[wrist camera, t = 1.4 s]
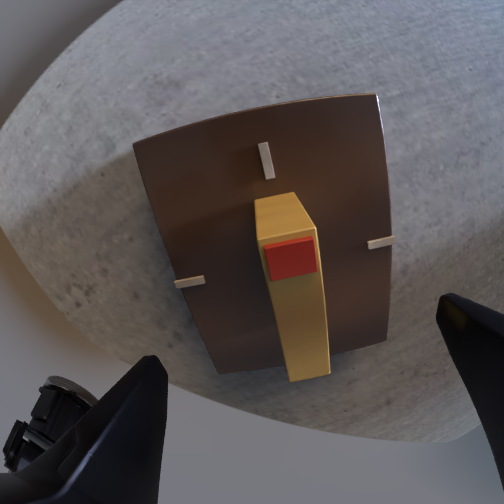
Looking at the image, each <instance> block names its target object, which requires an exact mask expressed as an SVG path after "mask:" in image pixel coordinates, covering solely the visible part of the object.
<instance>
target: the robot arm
mask: <svg viewBox="0 0 504 504" xmlns="http://www.w3.org/2000/svg"><path fill="white" fill-rule="evenodd" d="M436 321H437V324H438V326H439V329H440V331H441V333H442V336H443V338H444V340H445V343H446V345H447V348H448V350H449V353H450V355H451V357H452V360H453V362H454V364H455V366H456V368H457V370H458V372H459V374H460V376H461V378H462V380H463V382H464V384H465V386H466V388H467V391H468V393H469V395H470V397H471V399H472V402H473V404H474V406H475V408H476V411H477V413H478V415H479V418H480V420H481V423H482V425H483V428H484V430H485V433H486V436H487V438H488V441H489V444H490V446H491V449H492V452H493V455H494V459H495V462H496V465H497V469H498V472H499V475H500V479H501V482H502V486H503V490H504V314H501V313H499V312H497V311H494V310H492V309H490V308H487V307H485V306H483V305H480V304H478V303H476V302H473V301H471V300H468V299H466V298H464V297H461V296H459V295H456V294H454V293H447V294H444V295H442V296H441V297H440V298H439V303H438V308H437V313H436ZM39 391H40V393H41V395H40V397H39V399H38V401H37V403H36V404H35V406H34V408H33V410H32V412H31V416H32V419H31V421H30V424H29V425H28V423H26V422H25V421H24V422H21V421H18V420H16V422H15V424H14V426H13V428H12V430H11V432H10V435H9V437H8V439H7V441H6V444H5V446H4V448H3V453H4V456H5V459H4V460H5V464H4V466H5V467H7V468H8V469H9V471H8V473H0V504H157V503H158V491H159V481H160V471H161V461H162V453H163V445H164V436H165V429H166V421H167V398H168V374H167V372H166V370H165V368H164V367H163V365H162V363H161V362H160V360H159V358H158V357H157V356H155V355H150V356H144V357H142V358H141V359H140V360H139V361H138V362H137V363H136V364H135V365H134V366H133V367H132V368H131V369H130V370H129V371H128V372H127V373H126V374H125V375H124V376H123V377H122V378H121V379H120V380H119V381H118V382H117V383H116V384H115V385H114V386H113V387H112V388H111V389H110V390H109V391H108V392H107V393H106V394H105V395H104V396H103V397H102V398H101V399H100V400H99V401H98V402H97V403H96V404H95V405H94V406H93V407H92V408H91V409H89V407H88V406H87V405H86V404H85V403H84V402H83V401H82V400H81V399H80V398H79V397H78V395H77V394H76V393H75V392H73V391H70V390H61V389H53V388H45V387H40V388H39ZM23 436H25V437H26V438H27V439H29V440H28V441H26V440H24V439H23V438H22V437H23Z"/></svg>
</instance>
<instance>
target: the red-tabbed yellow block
mask: <svg viewBox="0 0 504 504" xmlns="http://www.w3.org/2000/svg"><path fill="white" fill-rule="evenodd" d="M254 206H255V223H256V240H257V245H258V249H259V253H260V257H261V262H262V266H263V270H264V274H265V279H266V283H267V287H268V291H269V296H270V300H271V304H272V309H273V313H274V317H275V322H276V326H277V330H278V335H279V339H280V343H281V348H282V352H283V356H284V361H285V365H286V370H287V374H288V378H289V382H295V381H300V380H305V379H310V378H315V377H320V376H324V375H329V374H330V357H329V342H328V329H327V317H326V306H325V295H324V286H323V277H322V268H321V260H320V252H319V244H318V237H317V230H316V227H315V225H314V224H313V222H312V220H311V219H310V217H309V215H308V214H307V212H306V211H305V209H304V207H303V206H302V204H301V203H300V201H299V200H298V198H297V196H296V195H295V193H294V192H290V193H285V194H280V195H276V196H271V197H266V198H261V199H257V200H254Z"/></svg>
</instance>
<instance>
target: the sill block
mask: <svg viewBox="0 0 504 504" xmlns="http://www.w3.org/2000/svg"><path fill="white" fill-rule="evenodd" d="M133 149H134V152H135V156H136V159H137V163H138V166H139V170H140V173H141V176H142V180H143V183H144V186H145V189H146V193H147V196H148V199H149V202H150V205H151V208H152V211H153V214H154V217H155V220H156V223H157V226H158V229H159V232H160V234H161V237H162V240H163V243H164V246H165V248H166V251H167V254H168V257H169V259H170V262H171V264H172V267H173V270H174V272H175V275H176V277H177V280H176V281H175V282H174V283H175V286H176V288H177V289H178V288H181V290H182V293H183V295H184V297H185V300H186V302H187V305H188V307H189V310H190V312H191V314H192V317H193V319H194V321H195V324H196V326H197V328H198V330H199V333H200V335H201V337H202V339H203V342H204V344H205V346H206V348H207V350H208V353H209V355H210V357H211V359H212V361H213V363H214V365H215V368H216V370H217V372H218V374H228V373H236V372H243V371H250V370H257V369H263V368H270V367H276V366H281V365H285V361H284V356H283V352H282V348H281V343H280V339H279V335H278V330H277V326H276V322H275V317H274V313H273V309H272V304H271V300H270V296H269V291H268V287H267V283H266V279H265V274H264V270H263V266H262V262H261V257H260V253H259V249H258V245H257V240H256V223H255V206H254V200H257V199H261V198H266V197H271V196H276V195H280V194H285V193H290V192H294V193H295V195H296V196H297V198H298V200H299V201H300V203H301V204H302V206H303V207H304V209H305V211H306V212H307V214H308V215H309V217H310V219H311V220H312V222H313V224H314V225H315V227H316V230H317V237H318V244H319V252H320V260H321V268H322V277H323V286H324V295H325V306H326V317H327V329H328V342H329V356H330V355H334V354H338V353H342V352H346V351H350V350H354V349H358V348H362V347H365V346H369V345H373V344H376V343H380V342H383V341H386V339H387V330H388V319H389V307H390V292H391V267H392V244H396V237H395V236H392V227H391V202H390V187H389V175H388V165H387V155H386V147H385V140H384V133H383V126H382V120H381V114H380V108H379V103H378V98H377V94H376V93H363V94H349V95H337V96H328V97H319V98H311V99H304V100H297V101H290V102H284V103H278V104H273V105H267V106H262V107H257V108H252V109H247V110H243V111H238V112H234V113H230V114H226V115H222V116H218V117H214V118H210V119H206V120H203V121H199V122H195V123H192V124H189V125H185V126H182V127H179V128H175V129H172V130H169V131H166V132H163V133H160V134H157V135H154V136H151V137H148V138H146V139H143V140H140V141H137V142H135V143H133Z"/></svg>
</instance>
